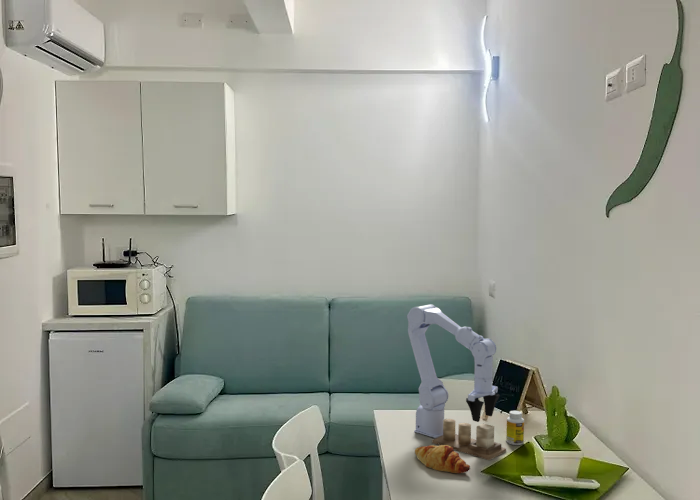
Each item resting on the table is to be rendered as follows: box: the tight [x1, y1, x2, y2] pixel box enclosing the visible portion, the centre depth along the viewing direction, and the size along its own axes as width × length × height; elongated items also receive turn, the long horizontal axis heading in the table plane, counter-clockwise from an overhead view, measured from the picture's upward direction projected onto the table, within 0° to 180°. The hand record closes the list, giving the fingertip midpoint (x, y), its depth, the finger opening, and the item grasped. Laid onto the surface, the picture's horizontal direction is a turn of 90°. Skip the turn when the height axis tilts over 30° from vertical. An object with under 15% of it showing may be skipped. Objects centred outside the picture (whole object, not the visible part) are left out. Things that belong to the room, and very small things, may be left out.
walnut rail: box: [431, 418, 507, 461], centre depth 211 cm, size 22×10×7 cm, turn 47°
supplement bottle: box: [505, 410, 525, 446], centre depth 215 cm, size 6×6×10 cm
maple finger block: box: [475, 423, 495, 449], centre depth 207 cm, size 4×4×7 cm
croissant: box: [414, 444, 471, 474], centre depth 196 cm, size 21×10×8 cm, turn 42°
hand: (482, 418), depth 211 cm, fingers open, 7 cm apart
